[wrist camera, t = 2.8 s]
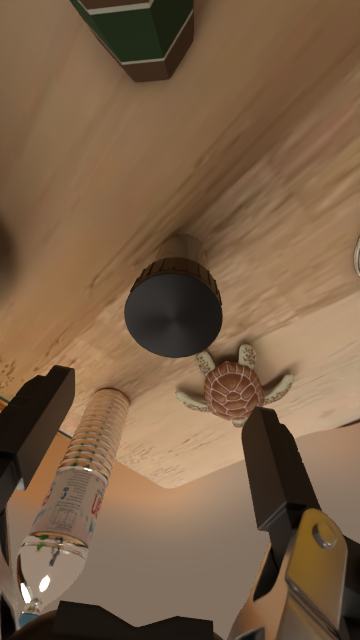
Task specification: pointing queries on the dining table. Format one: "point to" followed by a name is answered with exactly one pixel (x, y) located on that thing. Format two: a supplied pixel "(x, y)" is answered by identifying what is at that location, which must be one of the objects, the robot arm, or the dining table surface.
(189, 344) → the jar lid
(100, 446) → the water bottle
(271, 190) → the dining table surface
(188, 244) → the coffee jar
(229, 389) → the decorative turtle
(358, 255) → the coffee can
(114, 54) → the beer bottle
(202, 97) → the dining table surface
